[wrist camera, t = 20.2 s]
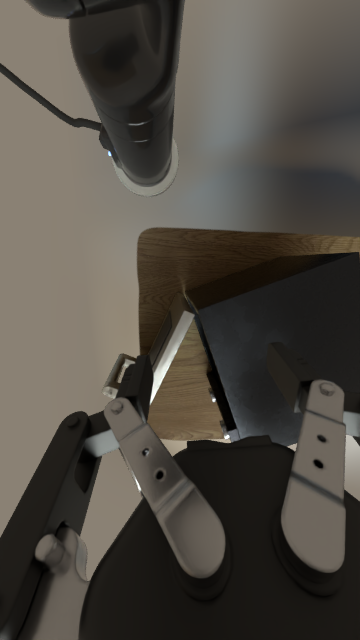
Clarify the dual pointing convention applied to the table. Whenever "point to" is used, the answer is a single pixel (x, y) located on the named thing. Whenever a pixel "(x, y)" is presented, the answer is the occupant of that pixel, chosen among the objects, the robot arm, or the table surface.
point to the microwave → (278, 336)
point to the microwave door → (158, 346)
